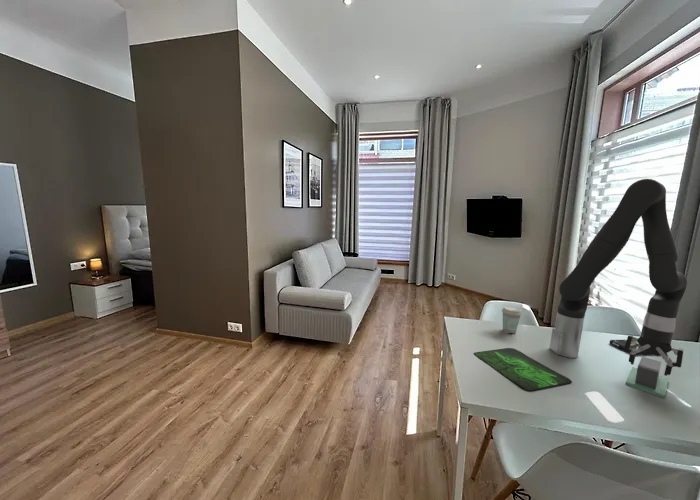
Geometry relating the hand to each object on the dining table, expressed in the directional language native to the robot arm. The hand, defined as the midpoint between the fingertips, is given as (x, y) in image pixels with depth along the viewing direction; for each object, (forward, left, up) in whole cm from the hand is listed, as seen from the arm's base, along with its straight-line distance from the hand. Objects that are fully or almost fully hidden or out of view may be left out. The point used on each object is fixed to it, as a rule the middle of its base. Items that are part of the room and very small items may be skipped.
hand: (648, 369), depth 104 cm
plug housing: (0, 0, -4) cm, 4 cm away
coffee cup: (-34, +36, -5) cm, 50 cm away
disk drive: (+17, +30, -6) cm, 35 cm away
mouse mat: (-43, +1, -6) cm, 43 cm away
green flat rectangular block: (0, 0, -5) cm, 5 cm away
